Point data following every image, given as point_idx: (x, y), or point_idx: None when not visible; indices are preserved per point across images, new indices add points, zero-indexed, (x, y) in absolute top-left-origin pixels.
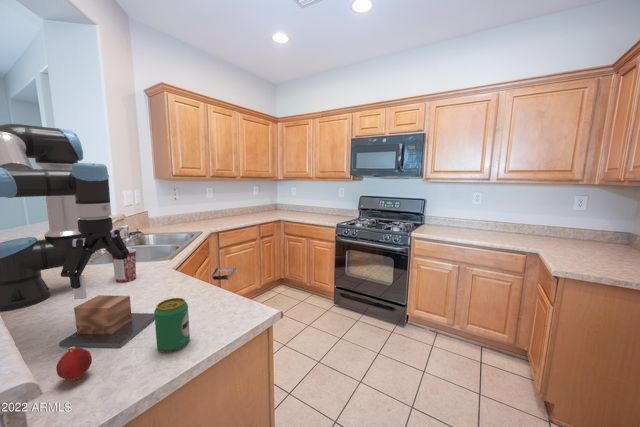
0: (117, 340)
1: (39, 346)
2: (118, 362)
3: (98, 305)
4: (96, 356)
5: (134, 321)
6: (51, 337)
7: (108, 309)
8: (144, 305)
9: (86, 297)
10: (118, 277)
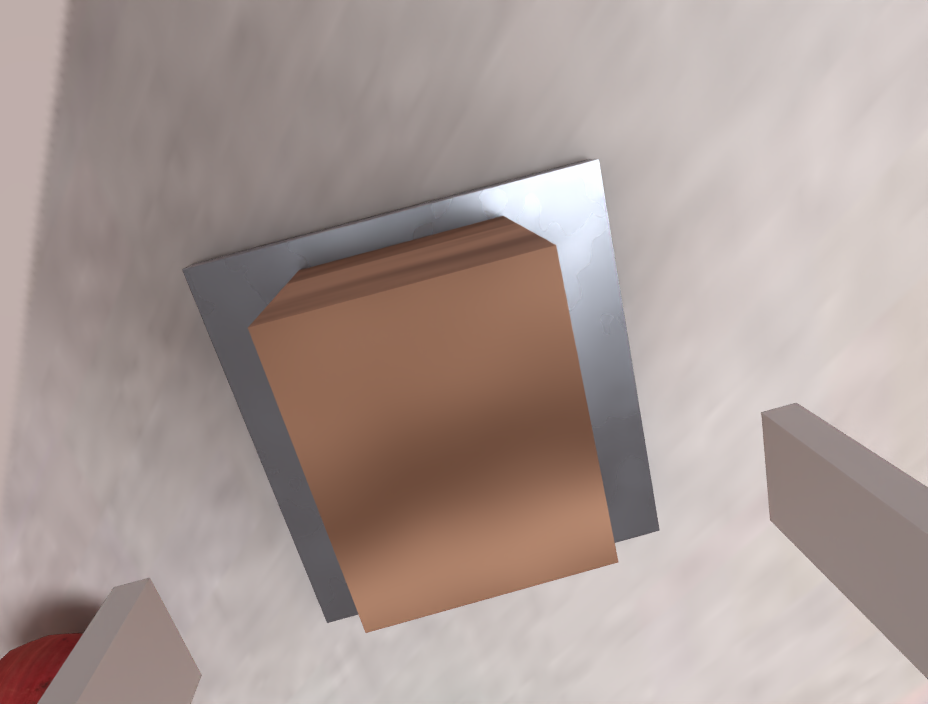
0: (343, 583)
1: (132, 115)
2: (247, 693)
3: (373, 502)
4: (231, 564)
5: None
6: (232, 57)
7: (366, 621)
8: (786, 275)
9: (197, 681)
10: (784, 481)
